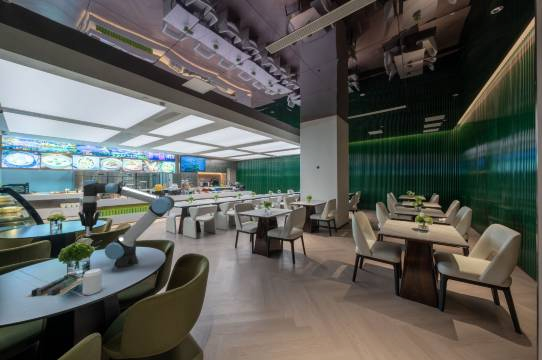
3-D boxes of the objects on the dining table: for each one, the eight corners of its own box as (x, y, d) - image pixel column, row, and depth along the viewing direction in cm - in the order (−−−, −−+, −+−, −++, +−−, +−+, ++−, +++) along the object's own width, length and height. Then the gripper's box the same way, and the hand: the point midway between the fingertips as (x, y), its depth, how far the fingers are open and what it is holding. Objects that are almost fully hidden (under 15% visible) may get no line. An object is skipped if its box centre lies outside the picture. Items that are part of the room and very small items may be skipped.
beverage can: (90, 289, 120) (91, 268, 120) (104, 288, 121) (105, 268, 121) (78, 296, 112) (79, 274, 112) (93, 295, 112) (94, 273, 113)
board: (88, 279, 132) (88, 277, 132) (61, 296, 111) (62, 294, 111) (58, 281, 129) (58, 279, 129) (24, 299, 108) (25, 297, 108)
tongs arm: (76, 278, 130) (76, 272, 130) (43, 295, 109) (44, 288, 110) (66, 279, 129) (66, 272, 130) (31, 296, 109) (31, 288, 109)
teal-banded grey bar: (82, 278, 130) (83, 273, 131) (55, 295, 110) (55, 289, 111) (70, 279, 129) (71, 274, 129) (40, 296, 109) (41, 290, 109)
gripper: (103, 201, 147) (102, 234, 146) (83, 201, 145) (81, 235, 144) (97, 202, 140) (95, 236, 139) (75, 202, 137) (73, 237, 136)
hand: (88, 235), depth 141 cm, fingers closed
